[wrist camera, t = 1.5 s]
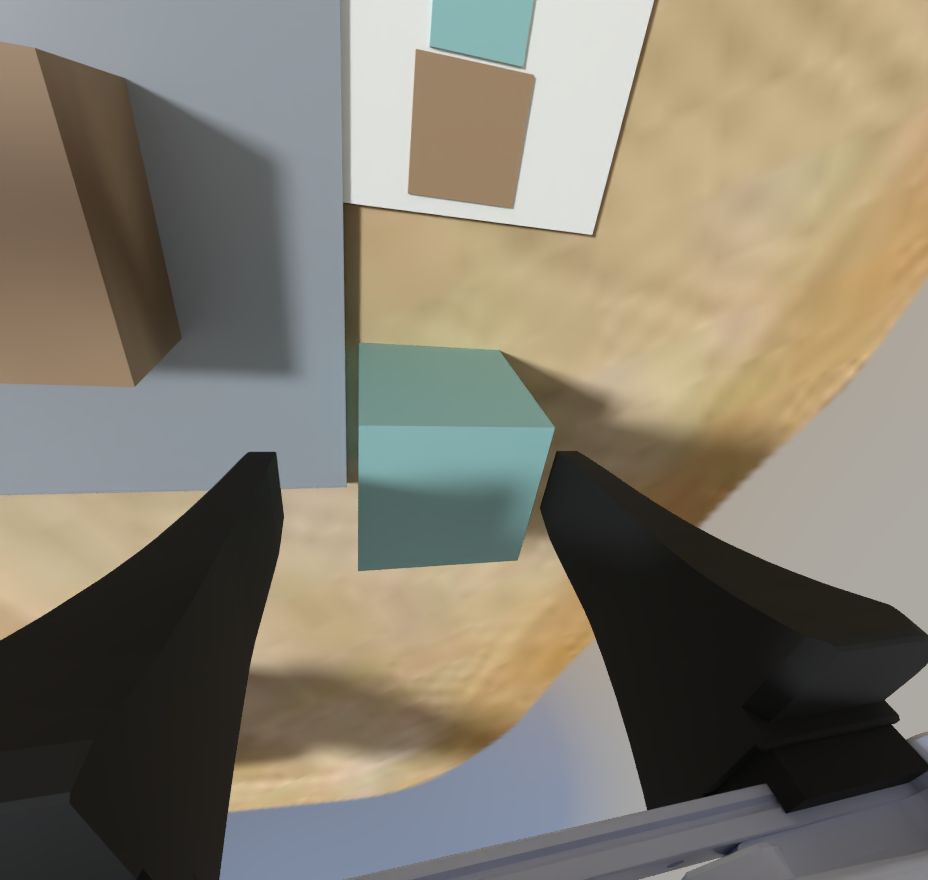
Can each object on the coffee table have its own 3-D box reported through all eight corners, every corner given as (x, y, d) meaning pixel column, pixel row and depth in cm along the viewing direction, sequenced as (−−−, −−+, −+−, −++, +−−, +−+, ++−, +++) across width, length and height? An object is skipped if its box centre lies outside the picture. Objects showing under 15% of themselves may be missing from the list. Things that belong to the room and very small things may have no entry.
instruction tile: (589, 234, 13) (593, 235, 12) (301, 196, 11) (300, 197, 11) (665, -61, 10) (673, -66, 9) (280, -187, 8) (277, -199, 7)
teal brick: (478, 460, 17) (517, 560, 13) (358, 461, 16) (358, 570, 11) (498, 349, 14) (554, 427, 10) (359, 341, 13) (358, 425, 9)
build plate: (346, 480, 16) (346, 487, 15) (-158, 490, 12) (-173, 499, 12) (339, -88, 8) (339, -98, 8) (-896, -440, 5) (-985, -481, 5)
